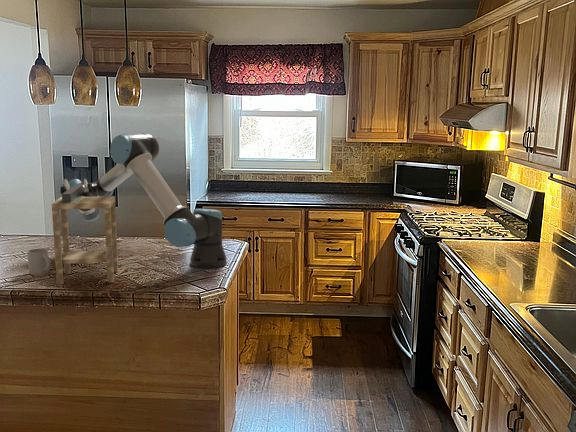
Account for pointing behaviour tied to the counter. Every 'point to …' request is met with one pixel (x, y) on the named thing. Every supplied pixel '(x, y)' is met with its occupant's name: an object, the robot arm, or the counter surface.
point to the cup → (38, 261)
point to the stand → (84, 256)
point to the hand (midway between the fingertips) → (75, 182)
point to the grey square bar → (72, 193)
